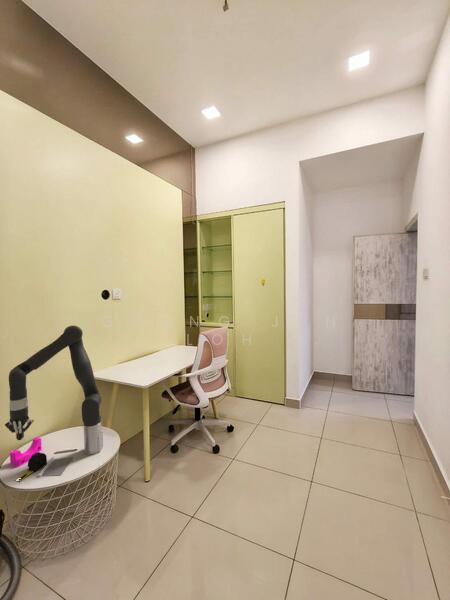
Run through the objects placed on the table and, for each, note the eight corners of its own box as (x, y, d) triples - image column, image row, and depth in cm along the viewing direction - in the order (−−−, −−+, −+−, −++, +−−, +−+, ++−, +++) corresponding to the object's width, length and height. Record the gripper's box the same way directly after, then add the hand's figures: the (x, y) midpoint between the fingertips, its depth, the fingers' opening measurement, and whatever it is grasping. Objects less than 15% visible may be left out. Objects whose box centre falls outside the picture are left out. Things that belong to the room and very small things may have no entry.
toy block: (19, 468, 141) (18, 454, 141) (10, 466, 142) (9, 452, 142) (45, 451, 155) (44, 438, 155) (36, 449, 157) (36, 437, 157)
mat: (72, 457, 148) (72, 455, 148) (61, 475, 135) (60, 472, 135) (52, 459, 147) (52, 457, 147) (38, 477, 133) (38, 474, 133)
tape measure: (41, 463, 144) (40, 449, 144) (47, 464, 143) (47, 450, 143) (13, 482, 130) (13, 466, 130) (20, 484, 129) (19, 468, 129)
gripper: (36, 402, 142) (38, 434, 142) (9, 404, 140) (10, 436, 140) (28, 409, 134) (29, 442, 135) (-1, 410, 132) (1, 444, 133)
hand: (20, 439), depth 138 cm, fingers closed
